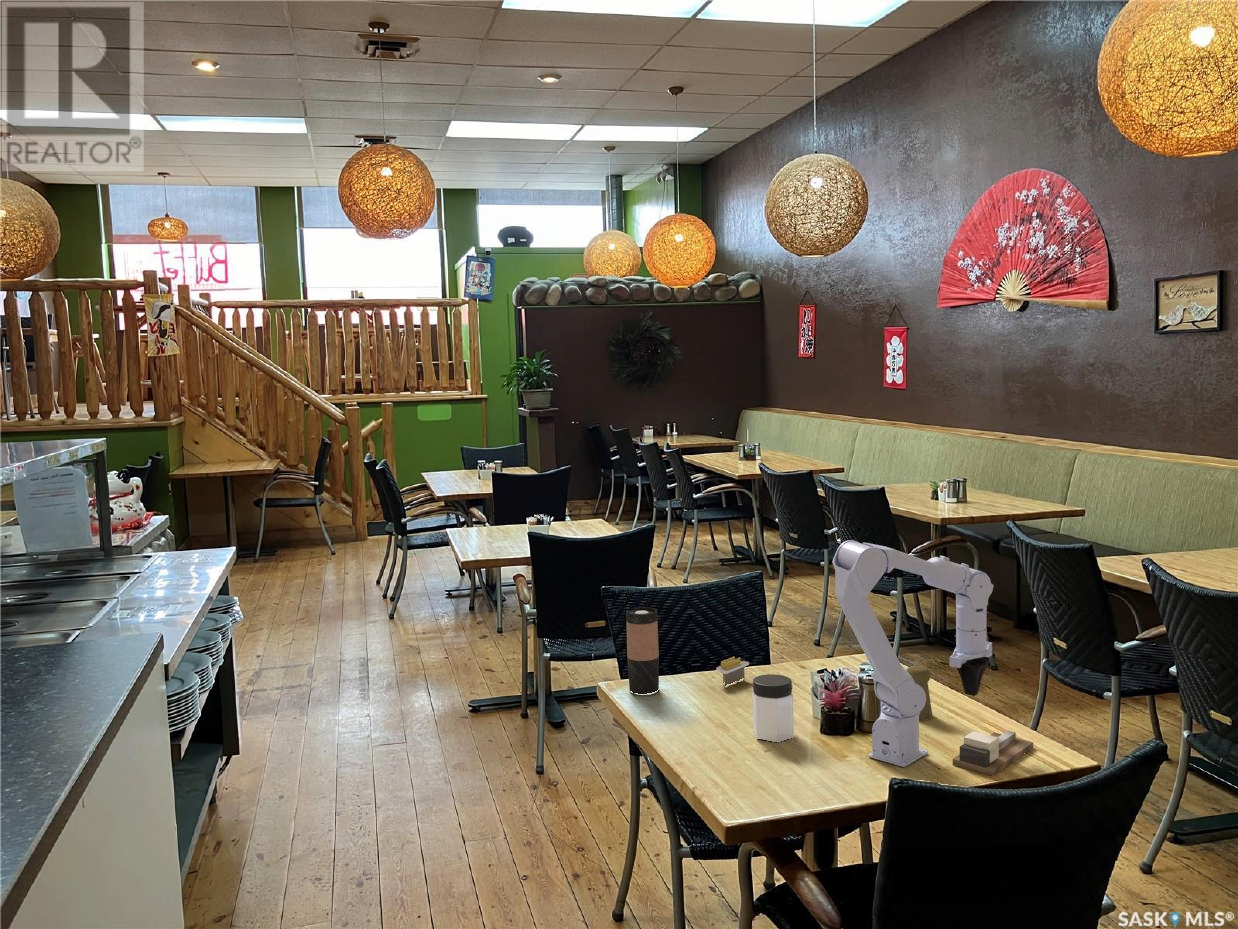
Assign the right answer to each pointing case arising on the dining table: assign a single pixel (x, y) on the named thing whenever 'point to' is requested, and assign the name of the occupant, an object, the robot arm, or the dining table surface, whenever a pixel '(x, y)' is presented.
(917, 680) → the cork
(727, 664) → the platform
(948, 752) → the dining table surface
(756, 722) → the jar
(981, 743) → the slider
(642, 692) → the travel mug
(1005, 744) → the rail board
